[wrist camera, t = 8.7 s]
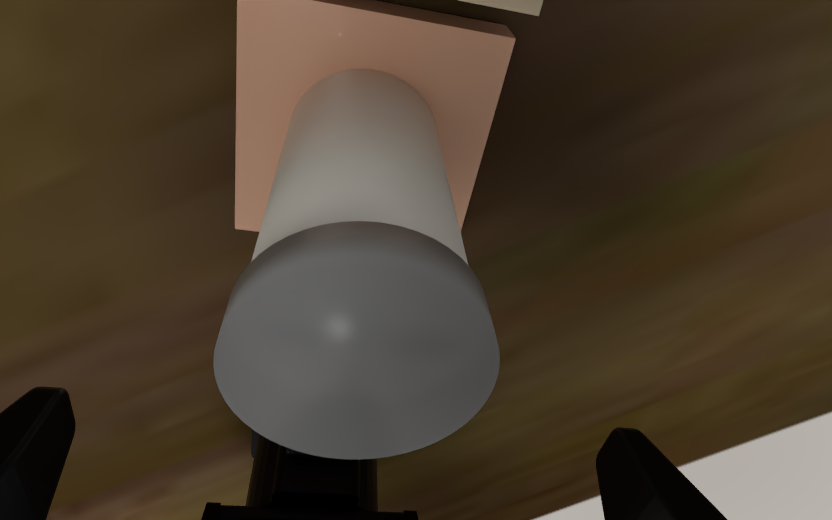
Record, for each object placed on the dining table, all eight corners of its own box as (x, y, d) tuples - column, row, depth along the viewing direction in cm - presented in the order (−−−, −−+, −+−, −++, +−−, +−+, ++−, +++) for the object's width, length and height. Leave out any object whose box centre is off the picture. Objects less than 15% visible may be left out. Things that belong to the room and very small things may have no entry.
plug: (425, 219, 20) (462, 466, 12) (277, 200, 20) (214, 451, 12) (459, 77, 17) (537, 281, 9) (287, 47, 17) (210, 243, 9)
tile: (449, 232, 23) (454, 254, 21) (242, 206, 21) (234, 228, 20) (506, 25, 18) (515, 38, 17) (246, -25, 17) (237, -15, 16)
